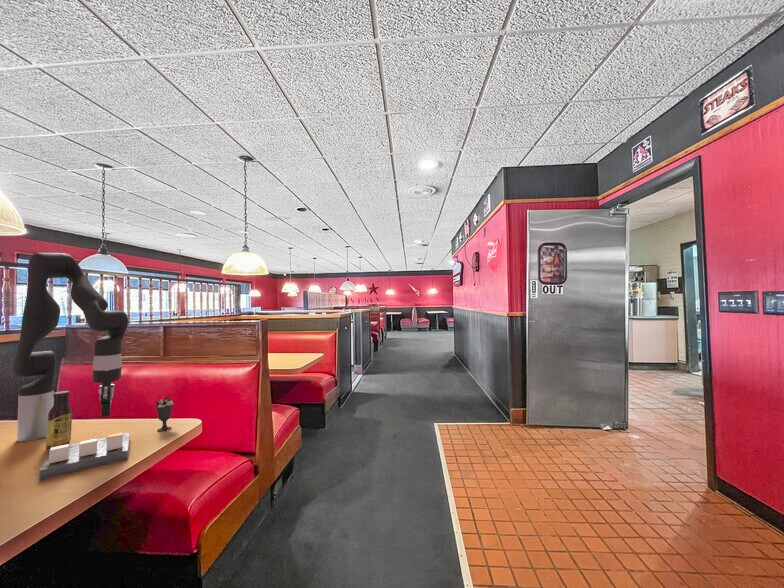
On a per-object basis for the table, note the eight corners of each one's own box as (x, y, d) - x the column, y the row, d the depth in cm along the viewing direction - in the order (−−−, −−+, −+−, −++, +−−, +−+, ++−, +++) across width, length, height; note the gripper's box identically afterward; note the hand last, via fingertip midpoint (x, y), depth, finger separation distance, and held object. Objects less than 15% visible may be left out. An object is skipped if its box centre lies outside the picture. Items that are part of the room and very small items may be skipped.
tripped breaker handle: (106, 448, 105) (107, 435, 105) (122, 444, 108) (123, 432, 108) (106, 450, 103) (106, 437, 103) (122, 447, 106) (122, 434, 106)
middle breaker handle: (80, 453, 101) (80, 441, 101) (97, 450, 104) (97, 438, 104) (78, 456, 99) (79, 444, 99) (96, 453, 102) (96, 440, 102)
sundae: (178, 427, 131) (178, 391, 131) (161, 433, 124) (162, 396, 125) (167, 425, 133) (167, 390, 133) (150, 431, 126) (151, 394, 127)
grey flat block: (53, 456, 106) (53, 447, 106) (129, 440, 119) (129, 432, 119) (39, 480, 92) (39, 470, 92) (127, 459, 105) (127, 450, 105)
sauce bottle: (53, 452, 109) (55, 395, 110) (40, 450, 111) (42, 394, 111) (76, 443, 116) (77, 390, 116) (63, 442, 117) (64, 389, 117)
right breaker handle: (51, 460, 97) (51, 447, 97) (69, 456, 100) (69, 443, 100) (49, 463, 95) (49, 450, 95) (67, 459, 98) (68, 446, 98)
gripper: (94, 364, 112) (93, 412, 112) (90, 372, 102) (88, 425, 102) (122, 362, 117) (120, 408, 117) (120, 369, 107) (119, 419, 107)
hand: (105, 416), depth 109 cm, fingers closed
